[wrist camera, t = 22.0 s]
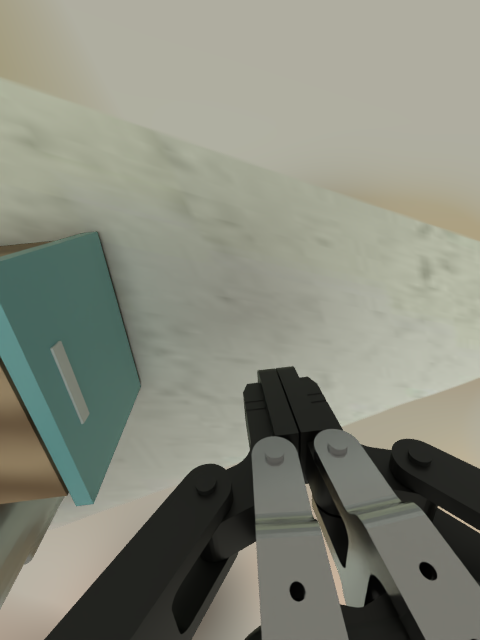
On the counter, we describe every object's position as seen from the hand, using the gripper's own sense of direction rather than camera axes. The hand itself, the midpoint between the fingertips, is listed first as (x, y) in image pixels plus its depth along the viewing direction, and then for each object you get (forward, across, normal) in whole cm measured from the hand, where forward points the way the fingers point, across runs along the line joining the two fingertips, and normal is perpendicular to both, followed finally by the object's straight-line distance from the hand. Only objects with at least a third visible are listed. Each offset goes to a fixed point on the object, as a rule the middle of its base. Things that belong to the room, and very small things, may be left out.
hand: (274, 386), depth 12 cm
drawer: (+18, +20, +3) cm, 27 cm away
